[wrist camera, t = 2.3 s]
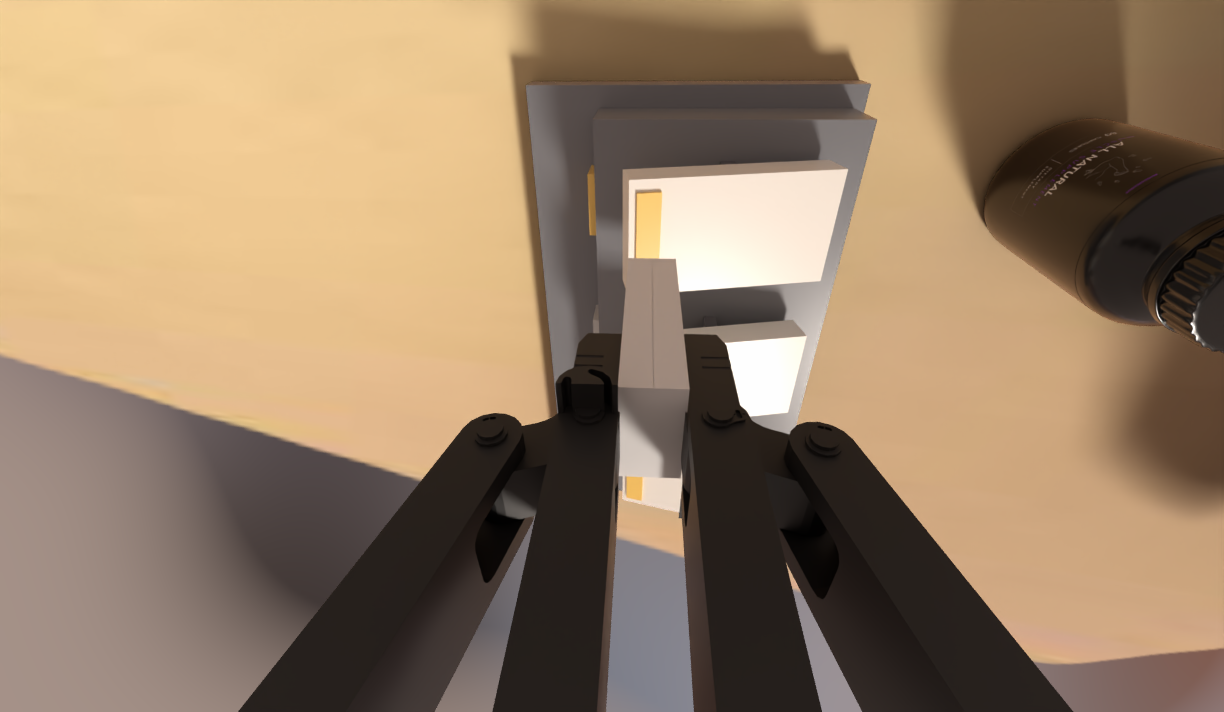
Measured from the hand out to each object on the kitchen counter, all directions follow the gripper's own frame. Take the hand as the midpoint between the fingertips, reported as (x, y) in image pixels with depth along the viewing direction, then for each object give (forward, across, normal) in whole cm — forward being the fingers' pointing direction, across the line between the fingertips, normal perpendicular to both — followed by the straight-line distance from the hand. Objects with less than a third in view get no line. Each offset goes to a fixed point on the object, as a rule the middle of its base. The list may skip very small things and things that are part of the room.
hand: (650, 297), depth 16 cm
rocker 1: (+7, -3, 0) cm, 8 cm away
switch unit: (+14, -2, +8) cm, 16 cm away
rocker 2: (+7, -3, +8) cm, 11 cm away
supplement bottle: (+14, -21, 0) cm, 25 cm away
